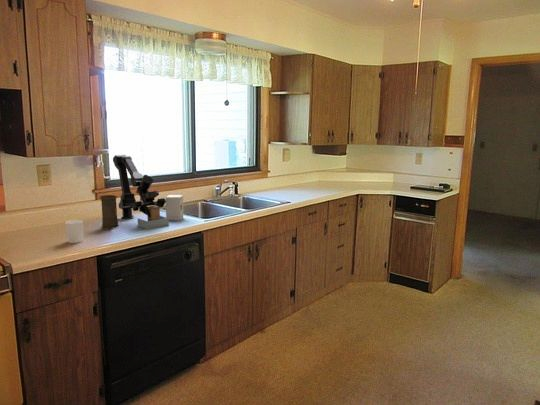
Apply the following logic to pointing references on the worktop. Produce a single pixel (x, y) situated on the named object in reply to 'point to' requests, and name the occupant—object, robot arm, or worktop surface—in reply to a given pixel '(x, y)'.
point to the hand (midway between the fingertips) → (154, 216)
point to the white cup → (74, 231)
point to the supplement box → (174, 207)
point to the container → (109, 212)
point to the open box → (153, 223)
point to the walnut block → (154, 213)
